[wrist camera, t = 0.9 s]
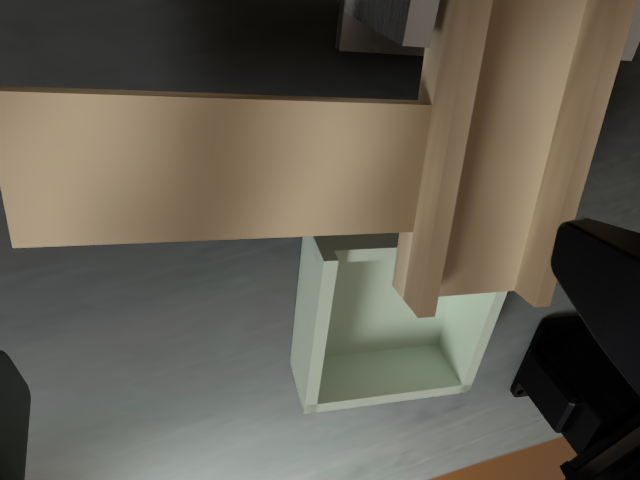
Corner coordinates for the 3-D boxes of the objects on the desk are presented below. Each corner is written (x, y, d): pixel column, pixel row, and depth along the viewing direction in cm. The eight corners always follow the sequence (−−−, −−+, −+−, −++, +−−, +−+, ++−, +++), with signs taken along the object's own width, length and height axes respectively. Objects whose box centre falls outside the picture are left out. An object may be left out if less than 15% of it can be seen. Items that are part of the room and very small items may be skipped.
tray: (482, 211, 24) (523, 250, 21) (440, 345, 29) (469, 391, 26) (304, 216, 22) (323, 261, 19) (290, 360, 27) (303, 414, 24)
